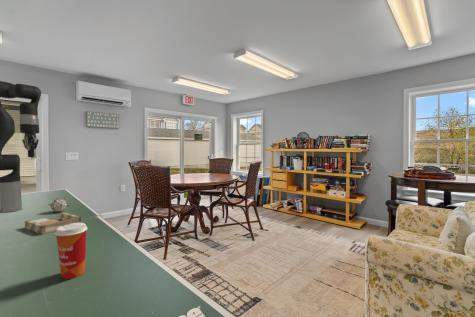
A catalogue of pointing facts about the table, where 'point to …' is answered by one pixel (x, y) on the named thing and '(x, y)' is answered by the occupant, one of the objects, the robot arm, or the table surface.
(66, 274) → the paper cup
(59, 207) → the game die
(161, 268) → the table surface
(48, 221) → the terracotta tile
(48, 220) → the cream tile
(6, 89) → the robot arm
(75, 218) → the box
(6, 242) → the table surface
